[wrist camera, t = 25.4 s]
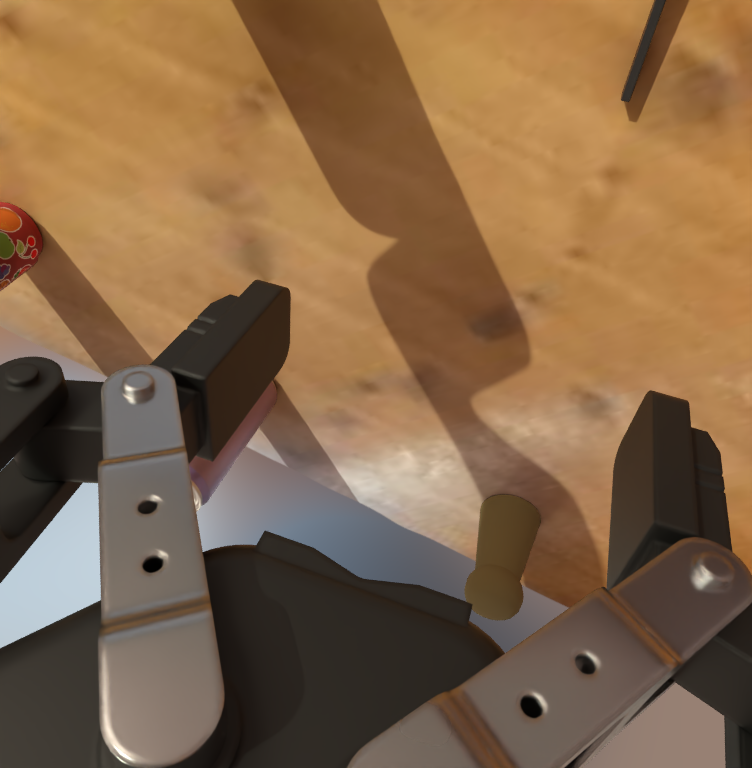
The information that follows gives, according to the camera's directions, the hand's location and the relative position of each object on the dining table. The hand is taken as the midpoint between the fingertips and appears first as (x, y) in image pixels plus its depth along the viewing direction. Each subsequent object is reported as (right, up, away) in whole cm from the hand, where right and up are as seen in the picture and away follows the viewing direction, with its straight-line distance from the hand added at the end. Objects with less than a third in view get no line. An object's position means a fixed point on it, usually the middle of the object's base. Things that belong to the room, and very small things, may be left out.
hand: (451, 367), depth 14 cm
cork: (+12, -14, +50) cm, 53 cm away
